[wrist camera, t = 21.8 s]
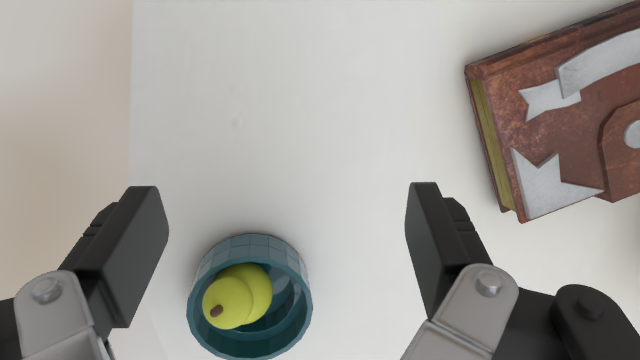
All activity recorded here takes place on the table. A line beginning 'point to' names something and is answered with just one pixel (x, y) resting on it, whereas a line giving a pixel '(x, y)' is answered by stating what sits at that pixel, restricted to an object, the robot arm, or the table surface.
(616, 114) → the book
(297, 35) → the table surface
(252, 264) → the pear
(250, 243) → the bowl
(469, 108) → the table surface
